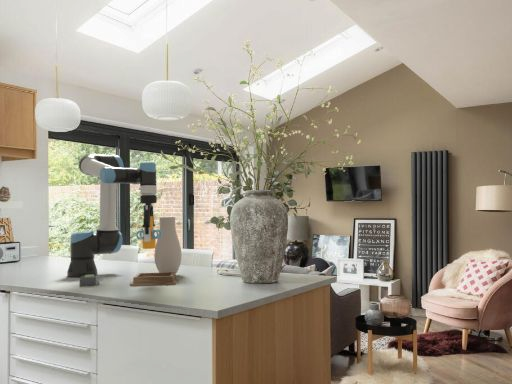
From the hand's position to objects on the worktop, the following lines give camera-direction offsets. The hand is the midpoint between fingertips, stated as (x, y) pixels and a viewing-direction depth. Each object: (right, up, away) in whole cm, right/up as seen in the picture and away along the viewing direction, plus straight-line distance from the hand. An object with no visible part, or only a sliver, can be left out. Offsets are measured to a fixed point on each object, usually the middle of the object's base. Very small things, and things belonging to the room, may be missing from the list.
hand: (149, 241), depth 239 cm
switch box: (-26, -19, -7) cm, 33 cm away
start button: (-26, -18, -7) cm, 32 cm away
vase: (+5, -20, +24) cm, 32 cm away
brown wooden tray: (+3, -19, -1) cm, 19 cm away
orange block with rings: (0, -4, 0) cm, 4 cm away
